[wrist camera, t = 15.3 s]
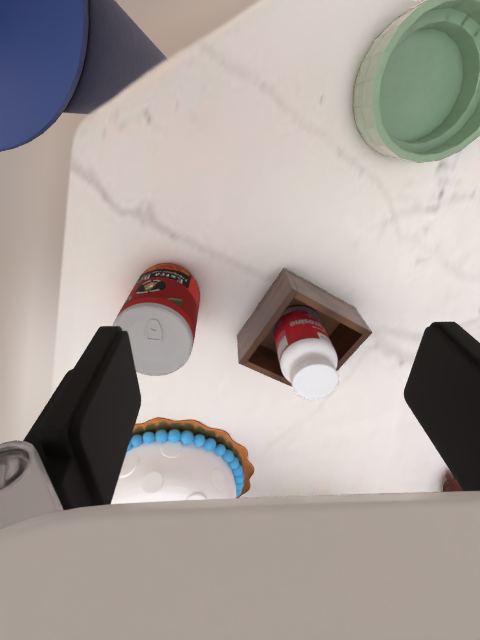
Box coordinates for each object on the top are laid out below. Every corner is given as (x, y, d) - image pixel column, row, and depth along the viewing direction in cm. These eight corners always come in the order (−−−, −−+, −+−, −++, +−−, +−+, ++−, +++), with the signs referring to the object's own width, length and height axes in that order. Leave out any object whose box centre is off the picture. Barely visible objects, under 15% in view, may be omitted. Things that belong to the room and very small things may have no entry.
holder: (236, 336, 44) (238, 363, 39) (283, 267, 39) (292, 288, 34) (304, 367, 47) (313, 396, 42) (355, 308, 42) (372, 332, 37)
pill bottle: (328, 312, 42) (358, 367, 32) (307, 349, 44) (329, 411, 35) (283, 298, 40) (300, 351, 31) (264, 337, 43) (275, 398, 34)
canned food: (194, 257, 38) (183, 301, 29) (205, 316, 42) (199, 372, 33) (128, 265, 38) (96, 311, 29) (146, 323, 42) (123, 380, 33)
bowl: (327, 115, 31) (343, 113, 27) (413, -26, 27) (449, -54, 22) (411, 178, 35) (438, 186, 30) (501, 63, 30) (548, 53, 26)
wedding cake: (82, 413, 50) (17, 542, 35) (264, 424, 53) (280, 548, 37) (98, 516, 64) (58, 641, 49) (242, 521, 67) (246, 640, 51)
